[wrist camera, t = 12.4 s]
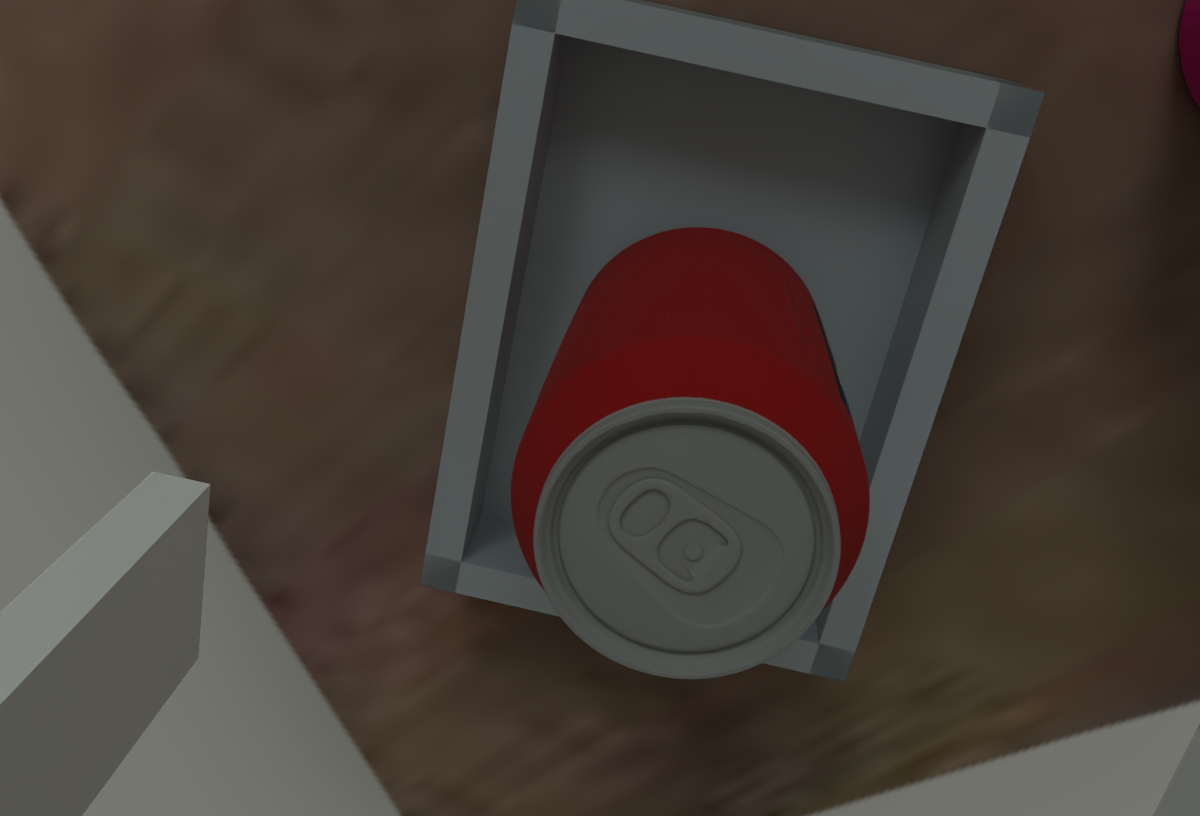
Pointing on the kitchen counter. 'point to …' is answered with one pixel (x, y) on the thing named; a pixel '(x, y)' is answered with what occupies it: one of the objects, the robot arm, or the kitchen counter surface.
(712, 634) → the beverage can
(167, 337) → the kitchen counter surface
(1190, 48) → the pepper mill
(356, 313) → the kitchen counter surface
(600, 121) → the tray
